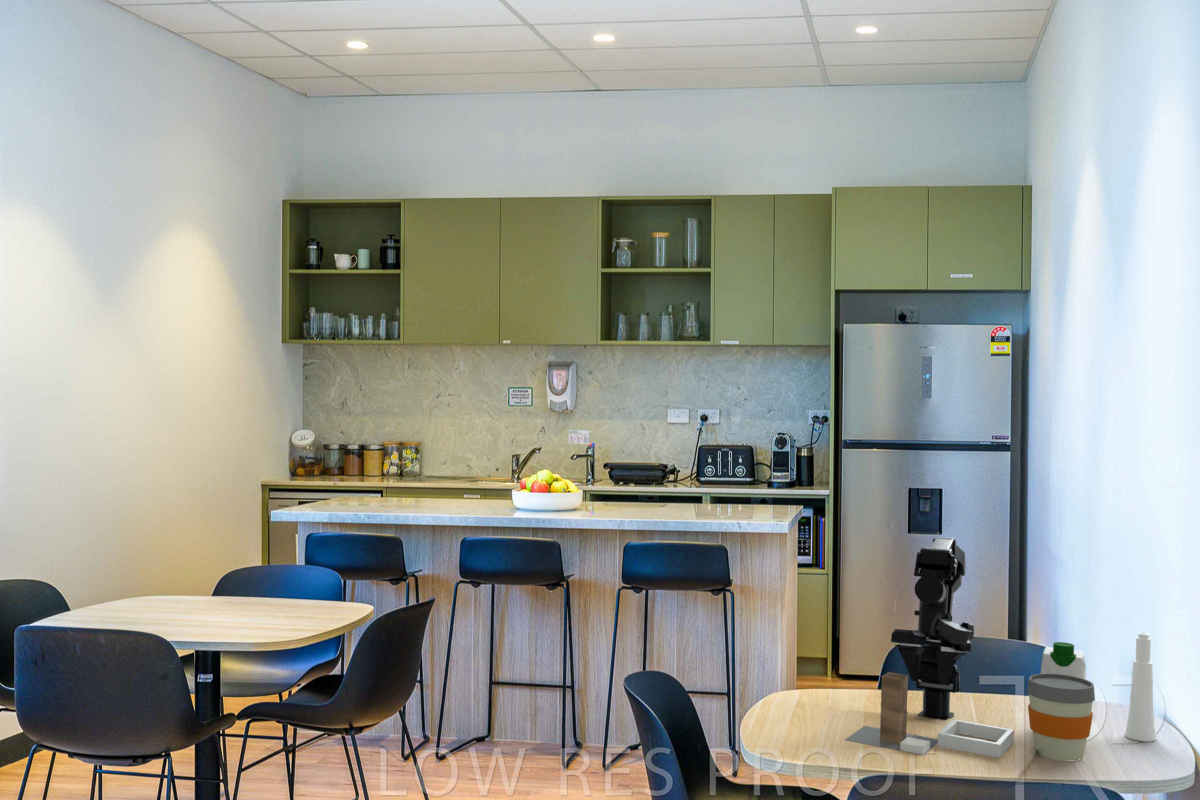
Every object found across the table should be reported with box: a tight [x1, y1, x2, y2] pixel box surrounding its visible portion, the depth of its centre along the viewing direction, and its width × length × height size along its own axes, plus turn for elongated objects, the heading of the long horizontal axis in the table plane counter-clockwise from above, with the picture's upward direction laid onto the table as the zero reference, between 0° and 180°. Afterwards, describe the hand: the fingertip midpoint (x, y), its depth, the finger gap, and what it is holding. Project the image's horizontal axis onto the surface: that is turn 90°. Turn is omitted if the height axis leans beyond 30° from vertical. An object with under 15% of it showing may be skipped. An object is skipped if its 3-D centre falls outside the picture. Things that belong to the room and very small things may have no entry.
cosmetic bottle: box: [1124, 632, 1157, 743], centre depth 242 cm, size 6×6×22 cm
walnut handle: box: [879, 671, 909, 744], centre depth 231 cm, size 4×4×13 cm
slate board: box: [844, 725, 938, 756], centre depth 231 cm, size 12×16×2 cm
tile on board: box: [900, 737, 930, 756], centre depth 225 cm, size 4×4×2 cm
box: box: [936, 718, 1015, 759], centre depth 229 cm, size 12×12×4 cm
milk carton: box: [1040, 641, 1087, 680], centre depth 240 cm, size 9×9×20 cm
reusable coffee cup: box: [1026, 673, 1096, 761], centre depth 228 cm, size 13×13×15 cm
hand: (929, 683), depth 238 cm, fingers open, 9 cm apart
